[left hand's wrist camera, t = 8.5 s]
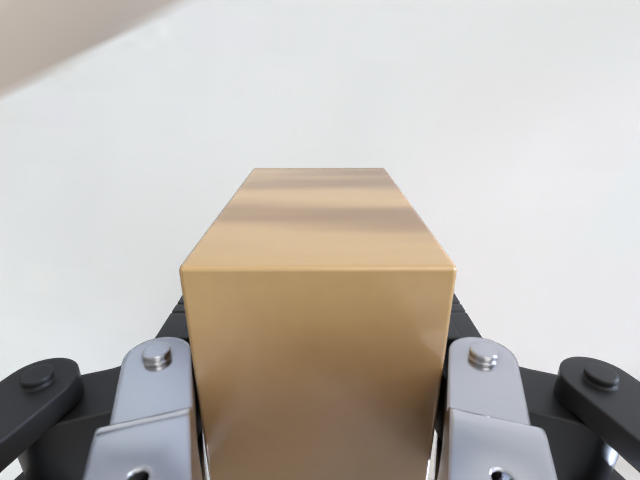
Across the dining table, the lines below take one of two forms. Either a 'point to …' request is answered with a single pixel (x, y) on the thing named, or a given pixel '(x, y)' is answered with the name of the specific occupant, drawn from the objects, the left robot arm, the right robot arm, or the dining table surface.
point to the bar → (318, 328)
